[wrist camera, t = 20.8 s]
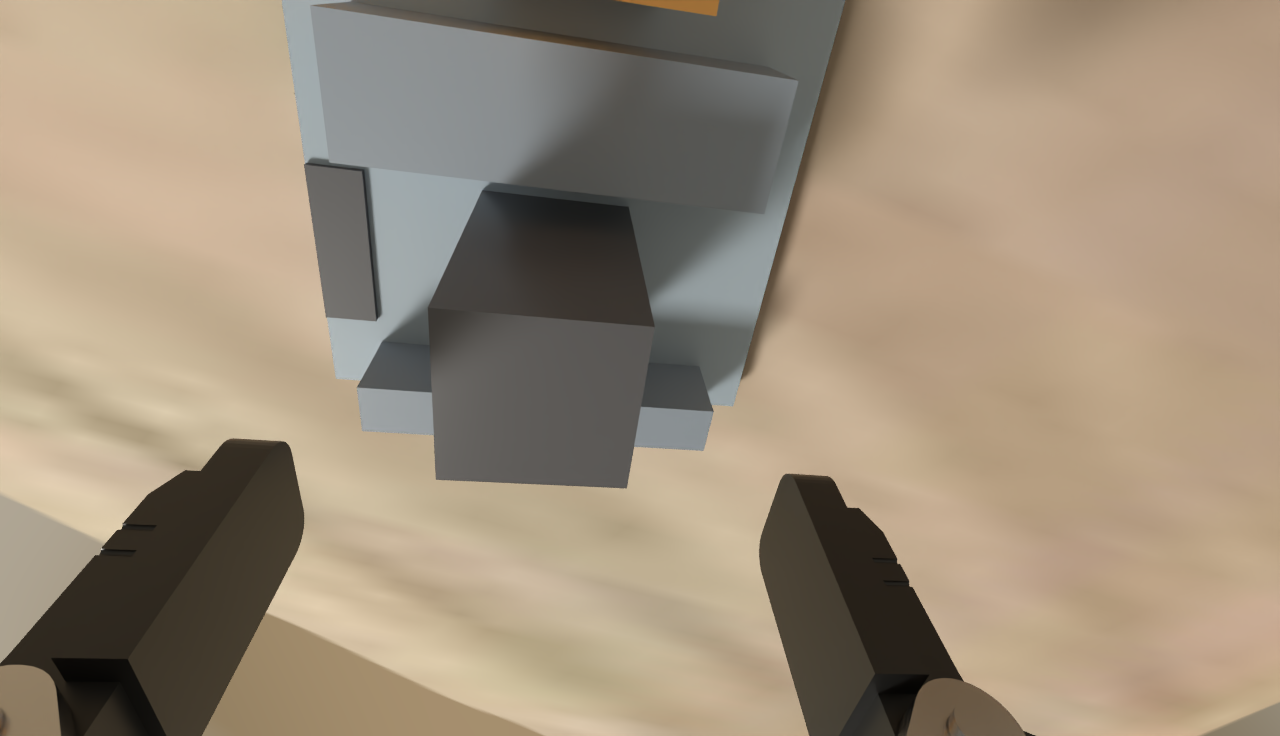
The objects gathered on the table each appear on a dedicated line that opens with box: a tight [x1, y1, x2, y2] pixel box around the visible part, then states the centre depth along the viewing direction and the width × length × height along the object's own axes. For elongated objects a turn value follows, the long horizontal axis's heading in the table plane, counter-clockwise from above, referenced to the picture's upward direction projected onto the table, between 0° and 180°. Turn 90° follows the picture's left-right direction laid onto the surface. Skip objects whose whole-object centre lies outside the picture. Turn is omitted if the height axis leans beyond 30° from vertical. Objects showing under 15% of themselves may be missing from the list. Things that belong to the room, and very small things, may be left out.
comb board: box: [282, 0, 845, 451], centre depth 15 cm, size 13×18×4 cm
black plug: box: [428, 190, 655, 488], centre depth 15 cm, size 4×4×7 cm
